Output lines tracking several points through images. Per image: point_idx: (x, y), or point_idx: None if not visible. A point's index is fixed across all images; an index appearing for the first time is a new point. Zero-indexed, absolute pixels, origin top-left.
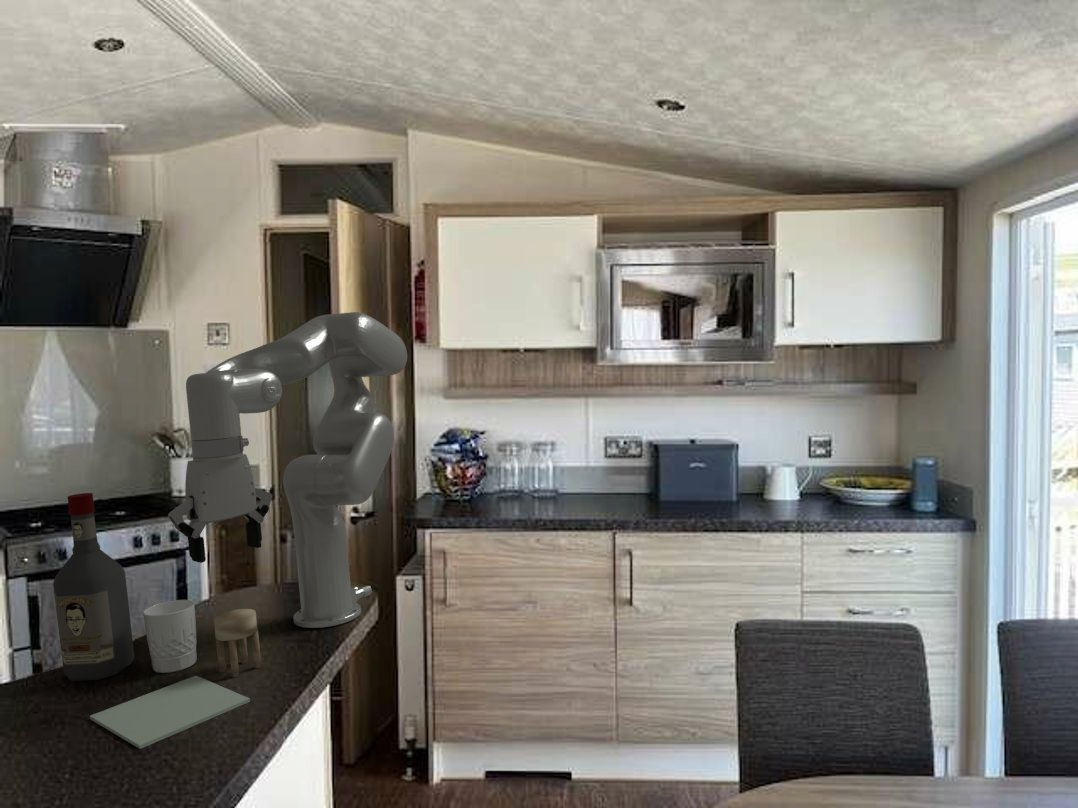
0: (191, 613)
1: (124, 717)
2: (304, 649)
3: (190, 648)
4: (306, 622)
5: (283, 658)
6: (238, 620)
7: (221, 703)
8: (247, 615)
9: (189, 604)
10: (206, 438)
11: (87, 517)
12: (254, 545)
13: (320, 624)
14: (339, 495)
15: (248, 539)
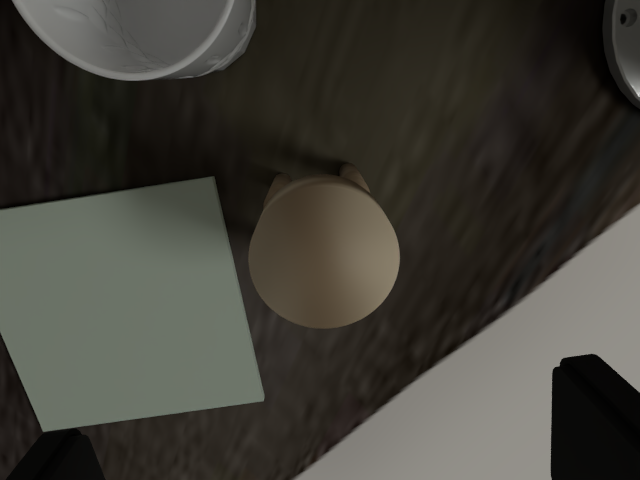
0: (211, 52)
1: (25, 291)
2: (494, 217)
3: (220, 66)
4: (618, 55)
5: (426, 231)
6: (310, 324)
7: (211, 381)
8: (355, 299)
9: None
10: None
11: None
12: (558, 465)
13: (634, 100)
14: None
15: (589, 421)
